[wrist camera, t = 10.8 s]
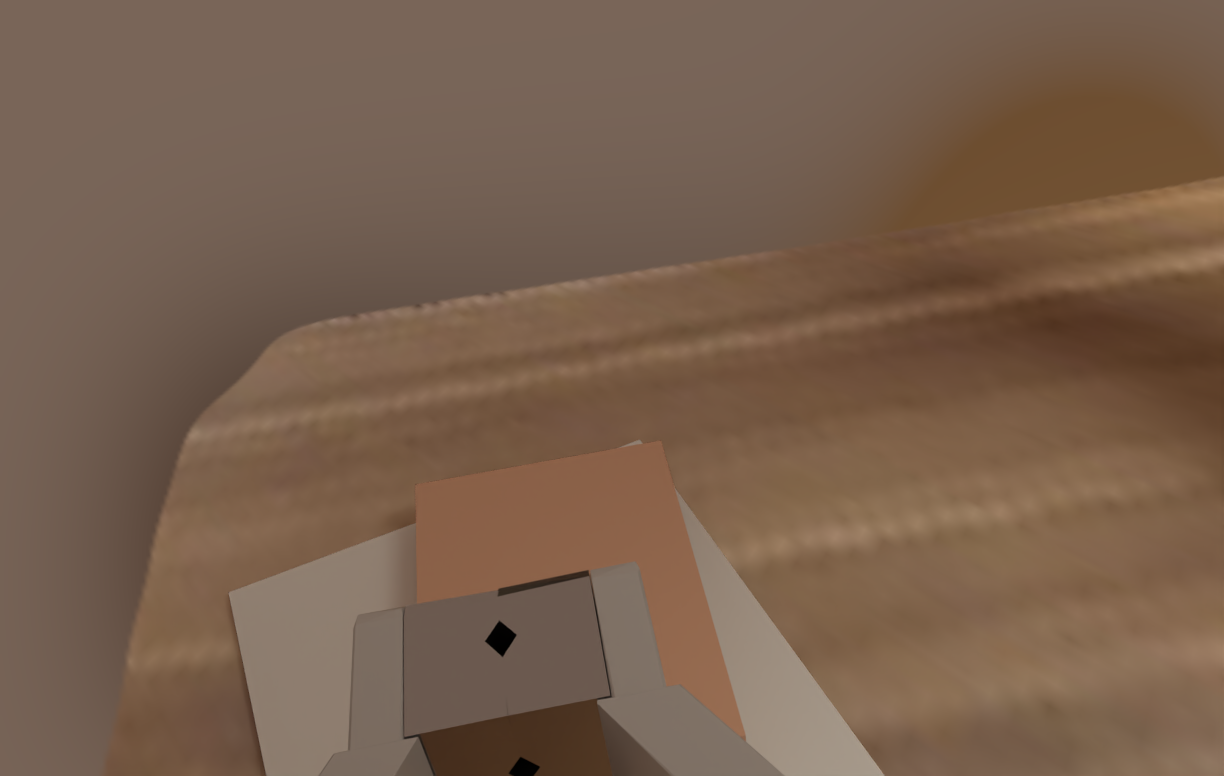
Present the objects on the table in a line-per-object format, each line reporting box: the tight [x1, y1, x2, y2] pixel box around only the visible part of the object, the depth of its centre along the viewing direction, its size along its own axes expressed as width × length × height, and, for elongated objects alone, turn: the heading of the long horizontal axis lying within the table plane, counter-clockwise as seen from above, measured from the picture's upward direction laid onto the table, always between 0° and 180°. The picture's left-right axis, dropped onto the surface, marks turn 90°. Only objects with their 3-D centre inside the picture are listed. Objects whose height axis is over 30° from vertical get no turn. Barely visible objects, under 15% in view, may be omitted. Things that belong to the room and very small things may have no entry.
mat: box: [228, 440, 884, 776], centre depth 38 cm, size 18×21×1 cm
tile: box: [415, 440, 746, 741], centre depth 39 cm, size 2×10×14 cm
